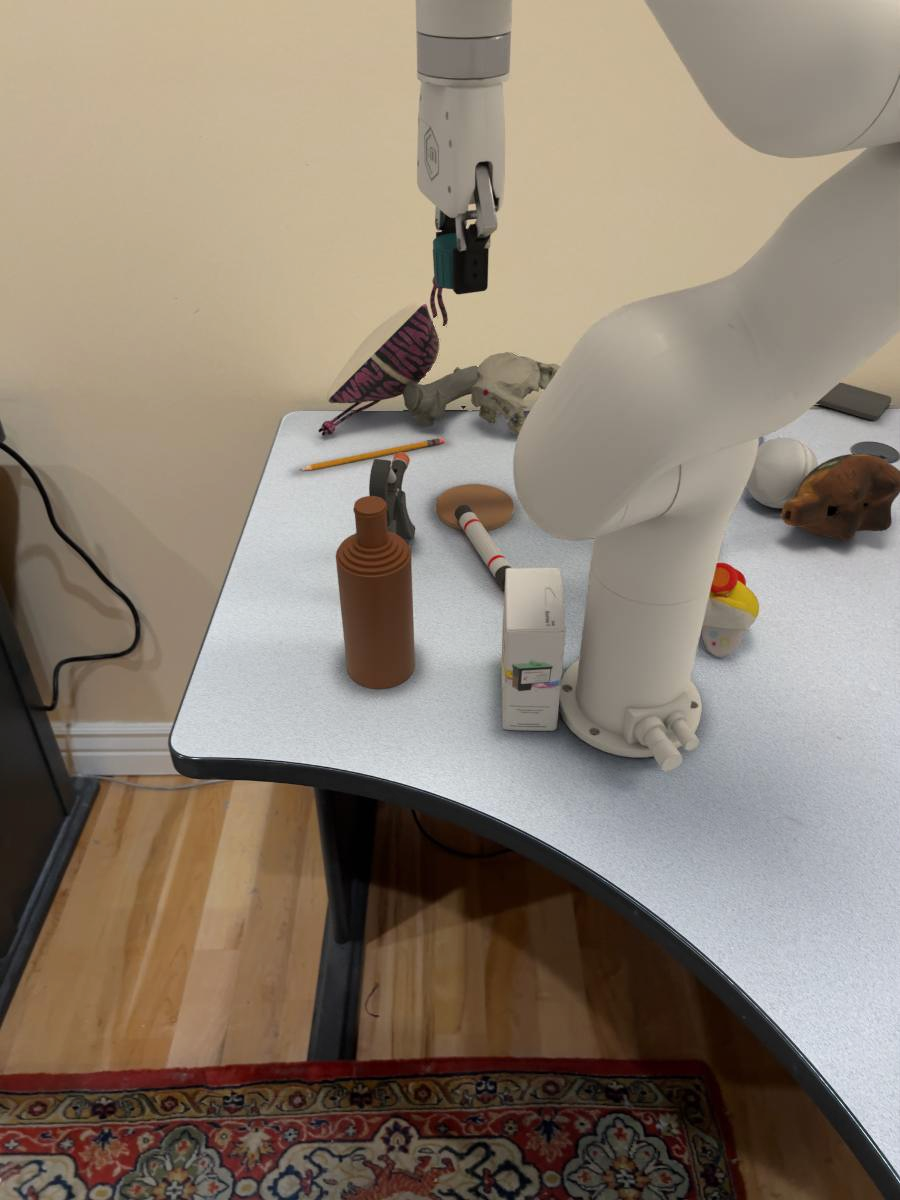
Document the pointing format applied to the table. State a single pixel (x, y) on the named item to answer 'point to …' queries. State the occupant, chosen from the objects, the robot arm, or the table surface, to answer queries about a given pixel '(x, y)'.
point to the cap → (444, 259)
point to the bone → (438, 394)
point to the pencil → (374, 454)
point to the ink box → (532, 648)
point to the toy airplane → (728, 611)
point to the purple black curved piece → (388, 359)
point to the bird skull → (508, 386)
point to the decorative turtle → (845, 497)
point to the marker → (483, 543)
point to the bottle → (376, 599)
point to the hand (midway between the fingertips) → (461, 280)
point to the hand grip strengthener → (392, 493)
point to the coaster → (476, 505)
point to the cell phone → (856, 401)
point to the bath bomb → (780, 471)
